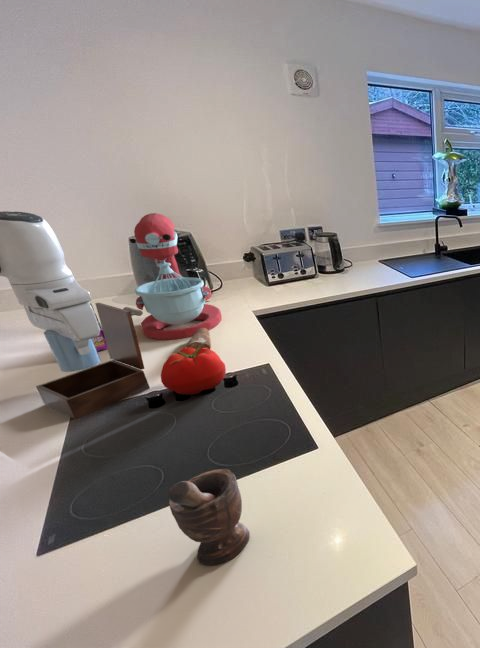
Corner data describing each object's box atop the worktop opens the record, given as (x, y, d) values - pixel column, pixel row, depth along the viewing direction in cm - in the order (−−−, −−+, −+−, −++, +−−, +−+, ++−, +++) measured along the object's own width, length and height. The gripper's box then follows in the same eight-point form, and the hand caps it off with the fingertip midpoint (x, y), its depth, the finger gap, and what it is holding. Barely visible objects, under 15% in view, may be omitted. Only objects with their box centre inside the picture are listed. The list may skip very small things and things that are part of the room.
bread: (187, 360, 126) (182, 344, 124) (195, 338, 141) (190, 323, 139) (212, 356, 129) (207, 340, 127) (216, 334, 144) (212, 320, 142)
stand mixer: (139, 347, 133) (94, 227, 118) (146, 317, 157) (109, 213, 141) (224, 331, 147) (194, 221, 131) (219, 305, 170) (193, 209, 154)
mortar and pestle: (264, 560, 66) (235, 467, 58) (200, 597, 60) (159, 498, 53) (246, 517, 73) (219, 429, 66) (188, 546, 68) (150, 453, 60)
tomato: (234, 388, 112) (224, 351, 108) (170, 408, 103) (156, 369, 98) (224, 371, 121) (214, 336, 116) (164, 387, 112) (150, 350, 107)
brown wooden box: (76, 422, 97) (66, 400, 95) (46, 407, 102) (35, 386, 100) (150, 390, 110) (143, 370, 108) (120, 378, 115) (112, 359, 113)
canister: (70, 374, 86) (52, 337, 83) (54, 368, 89) (37, 331, 85) (107, 361, 92) (92, 326, 88) (91, 356, 94) (76, 321, 91)
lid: (126, 312, 102) (150, 307, 107) (95, 303, 107) (119, 298, 112) (141, 369, 107) (163, 362, 112) (110, 358, 112) (132, 352, 117)
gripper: (2, 288, 84) (31, 346, 90) (52, 303, 77) (80, 365, 83) (43, 280, 90) (68, 336, 95) (94, 294, 83) (118, 353, 88)
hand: (74, 350), depth 89 cm, fingers closed on canister, 6 cm apart
